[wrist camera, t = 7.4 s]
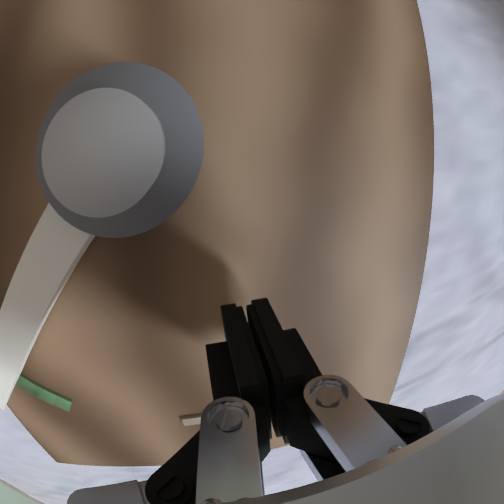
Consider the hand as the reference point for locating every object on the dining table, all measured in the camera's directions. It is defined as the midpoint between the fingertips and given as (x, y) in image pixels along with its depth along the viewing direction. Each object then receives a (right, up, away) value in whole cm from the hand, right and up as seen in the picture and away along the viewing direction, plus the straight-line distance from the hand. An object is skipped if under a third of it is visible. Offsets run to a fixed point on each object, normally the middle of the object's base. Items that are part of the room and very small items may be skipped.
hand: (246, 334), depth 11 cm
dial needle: (-7, +3, -1) cm, 7 cm away
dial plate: (-4, +3, +1) cm, 5 cm away
